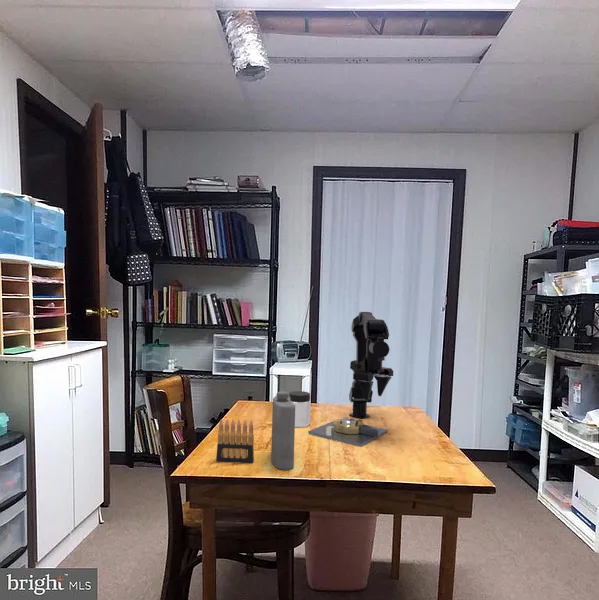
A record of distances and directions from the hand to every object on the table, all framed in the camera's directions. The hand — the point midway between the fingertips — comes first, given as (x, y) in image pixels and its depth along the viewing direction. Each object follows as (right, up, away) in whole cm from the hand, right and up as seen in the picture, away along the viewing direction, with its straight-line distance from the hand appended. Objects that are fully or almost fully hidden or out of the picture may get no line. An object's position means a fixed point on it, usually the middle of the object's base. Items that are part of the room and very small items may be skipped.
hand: (373, 397), depth 154 cm
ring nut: (-6, -12, -1) cm, 13 cm away
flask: (-32, -12, -28) cm, 44 cm away
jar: (-27, -13, +10) cm, 31 cm away
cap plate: (-9, -13, +1) cm, 16 cm away
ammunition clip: (-45, -12, -30) cm, 55 cm away
